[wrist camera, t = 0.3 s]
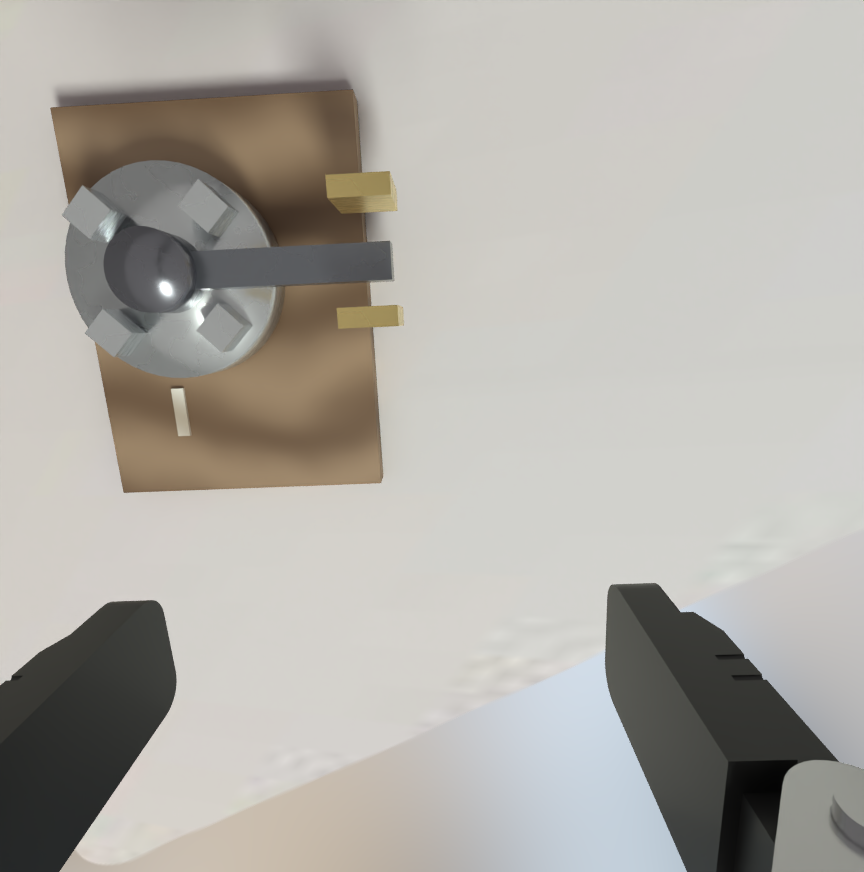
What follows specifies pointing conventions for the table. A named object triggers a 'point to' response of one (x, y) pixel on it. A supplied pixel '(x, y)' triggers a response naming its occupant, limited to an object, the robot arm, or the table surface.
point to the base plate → (301, 314)
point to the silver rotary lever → (205, 266)
